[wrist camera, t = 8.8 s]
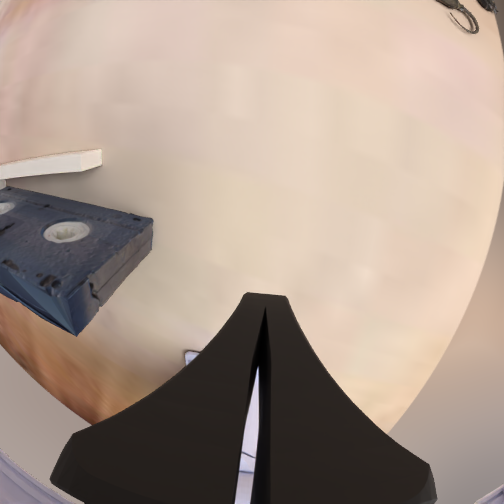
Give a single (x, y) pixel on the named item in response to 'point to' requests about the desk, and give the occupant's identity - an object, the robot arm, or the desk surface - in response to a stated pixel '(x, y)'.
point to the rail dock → (51, 164)
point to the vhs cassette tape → (66, 254)
